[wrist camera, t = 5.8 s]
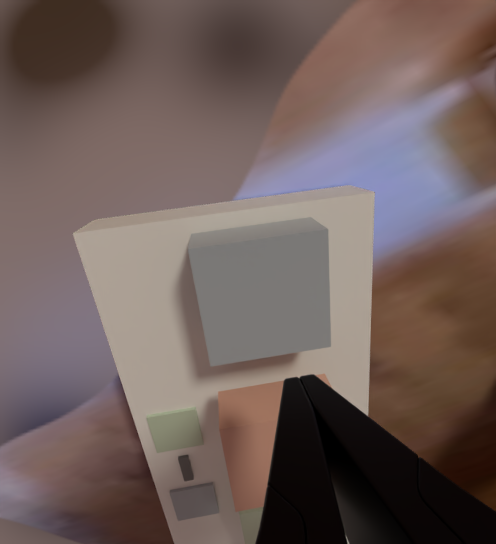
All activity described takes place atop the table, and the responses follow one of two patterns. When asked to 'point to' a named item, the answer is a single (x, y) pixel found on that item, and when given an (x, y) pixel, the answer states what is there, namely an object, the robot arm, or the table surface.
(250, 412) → the key terracotta
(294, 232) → the key slate
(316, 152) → the table surface
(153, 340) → the keypad base
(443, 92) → the table surface
